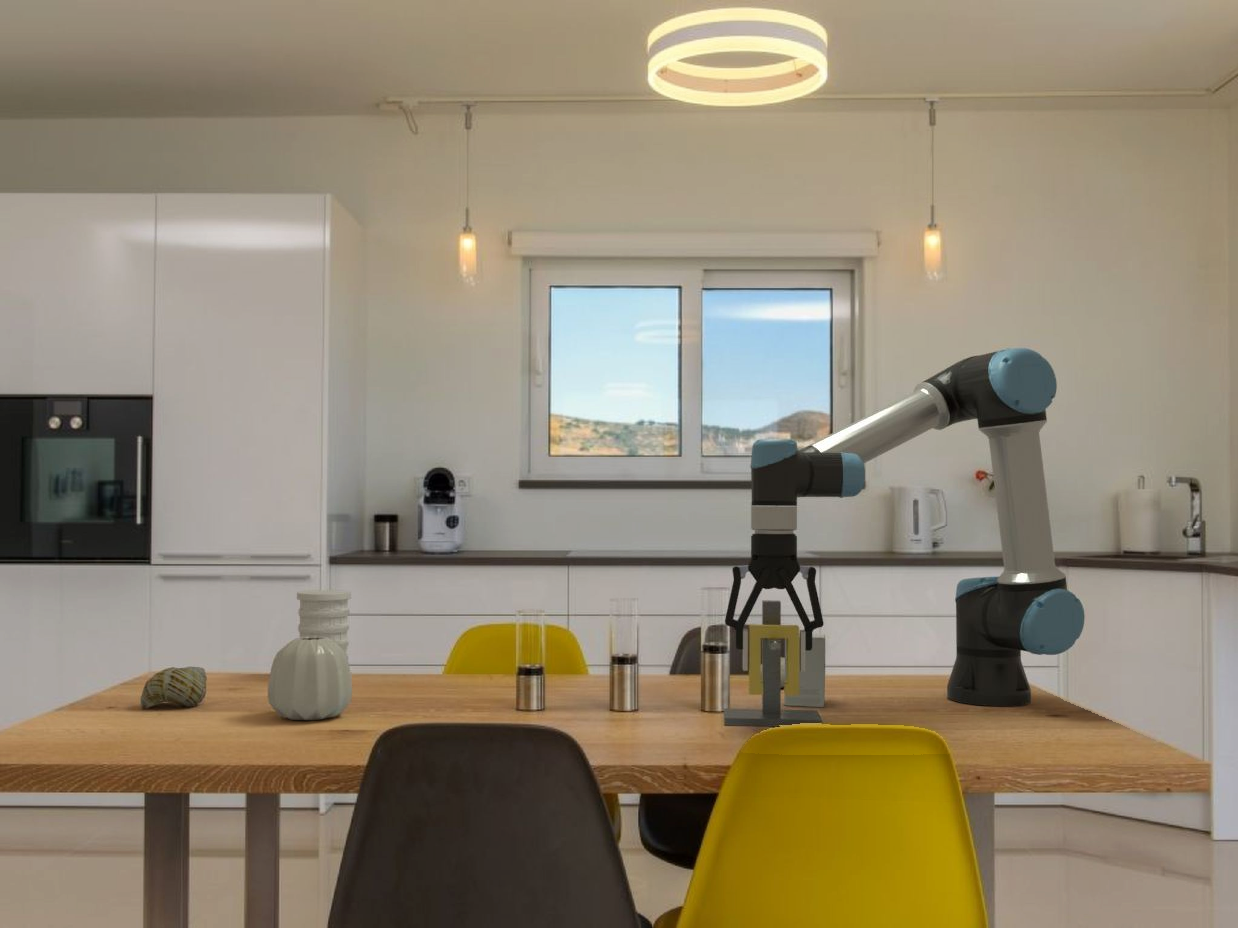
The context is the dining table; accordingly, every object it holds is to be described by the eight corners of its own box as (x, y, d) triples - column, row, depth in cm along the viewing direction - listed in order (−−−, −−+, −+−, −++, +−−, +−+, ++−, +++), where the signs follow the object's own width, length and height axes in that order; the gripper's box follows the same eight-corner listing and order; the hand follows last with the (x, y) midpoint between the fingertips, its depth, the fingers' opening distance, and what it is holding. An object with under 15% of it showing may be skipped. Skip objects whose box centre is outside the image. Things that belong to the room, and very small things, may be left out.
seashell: (125, 703, 200) (150, 650, 205) (172, 722, 207) (195, 670, 211) (154, 707, 194) (179, 652, 198) (201, 726, 200) (224, 673, 204)
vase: (263, 712, 196) (265, 635, 197) (345, 707, 202) (346, 632, 202) (272, 727, 184) (274, 644, 184) (359, 721, 189) (360, 640, 190)
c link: (797, 691, 188) (797, 625, 188) (799, 695, 184) (799, 627, 185) (748, 690, 189) (749, 624, 189) (749, 694, 185) (749, 626, 186)
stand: (817, 717, 196) (817, 600, 196) (826, 736, 179) (826, 609, 180) (724, 715, 197) (724, 599, 198) (725, 734, 181) (725, 607, 181)
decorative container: (307, 674, 240) (308, 589, 241) (359, 676, 239) (361, 590, 239) (283, 683, 229) (285, 593, 229) (338, 684, 227) (340, 594, 228)
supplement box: (824, 707, 205) (824, 637, 206) (783, 705, 207) (783, 636, 207) (825, 700, 213) (825, 633, 213) (785, 699, 214) (785, 631, 214)
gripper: (837, 532, 190) (837, 667, 190) (709, 531, 192) (708, 665, 191) (842, 533, 183) (842, 674, 182) (708, 532, 185) (708, 672, 184)
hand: (773, 669), depth 187 cm, fingers open, 9 cm apart
